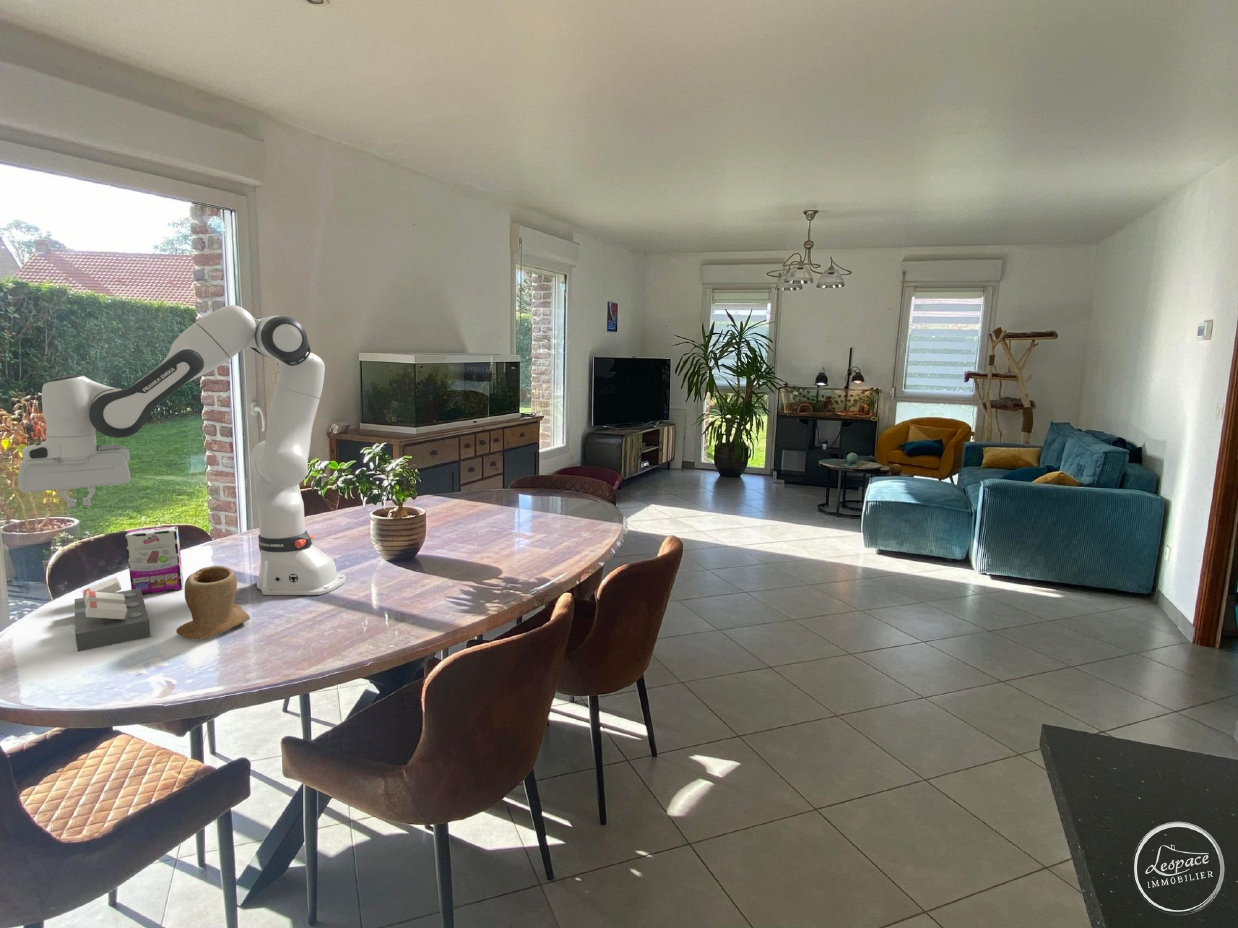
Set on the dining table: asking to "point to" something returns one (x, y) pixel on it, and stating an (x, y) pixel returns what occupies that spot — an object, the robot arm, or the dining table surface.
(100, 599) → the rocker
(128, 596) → the switch panel
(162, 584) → the candy bar box
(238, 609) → the stone cup
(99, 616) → the rocker
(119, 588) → the rocker
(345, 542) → the dining table surface
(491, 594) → the dining table surface
